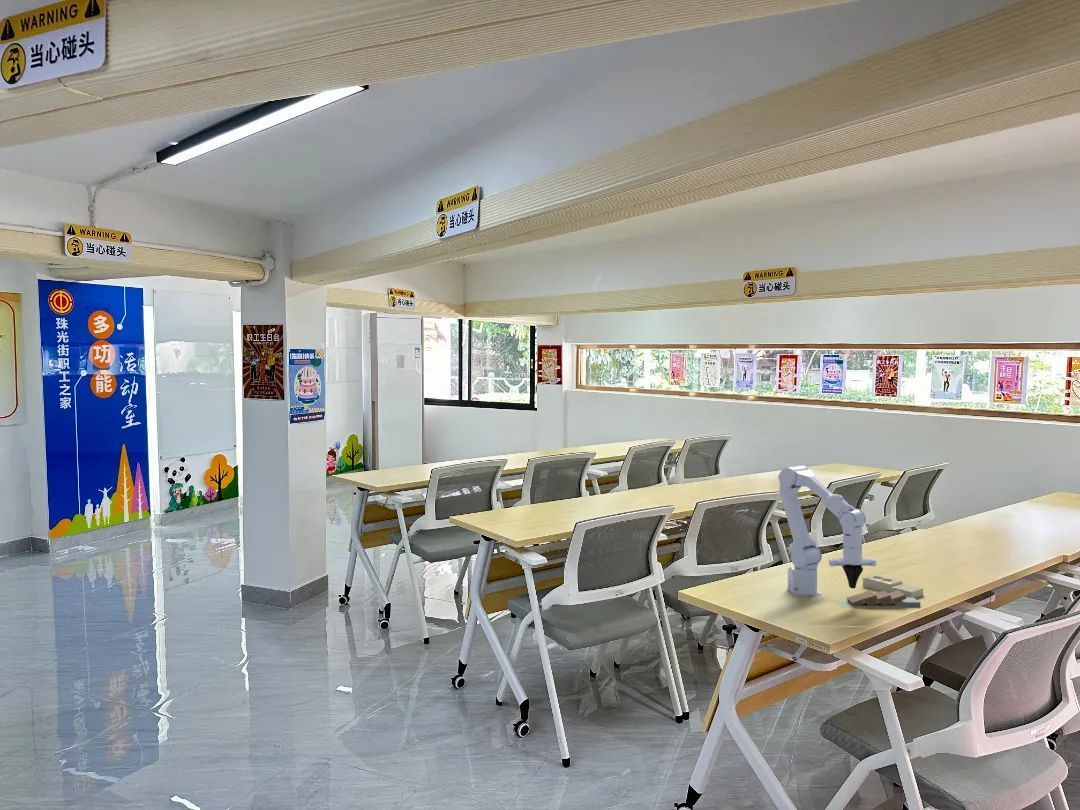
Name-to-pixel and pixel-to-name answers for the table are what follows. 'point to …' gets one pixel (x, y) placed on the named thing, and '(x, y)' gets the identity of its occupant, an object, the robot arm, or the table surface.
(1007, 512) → the table surface
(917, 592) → the electrical outlet
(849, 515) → the robot arm
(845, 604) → the sage mat
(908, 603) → the charcoal end domino
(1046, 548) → the table surface
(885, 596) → the walnut domino
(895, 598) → the walnut domino
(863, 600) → the walnut domino
